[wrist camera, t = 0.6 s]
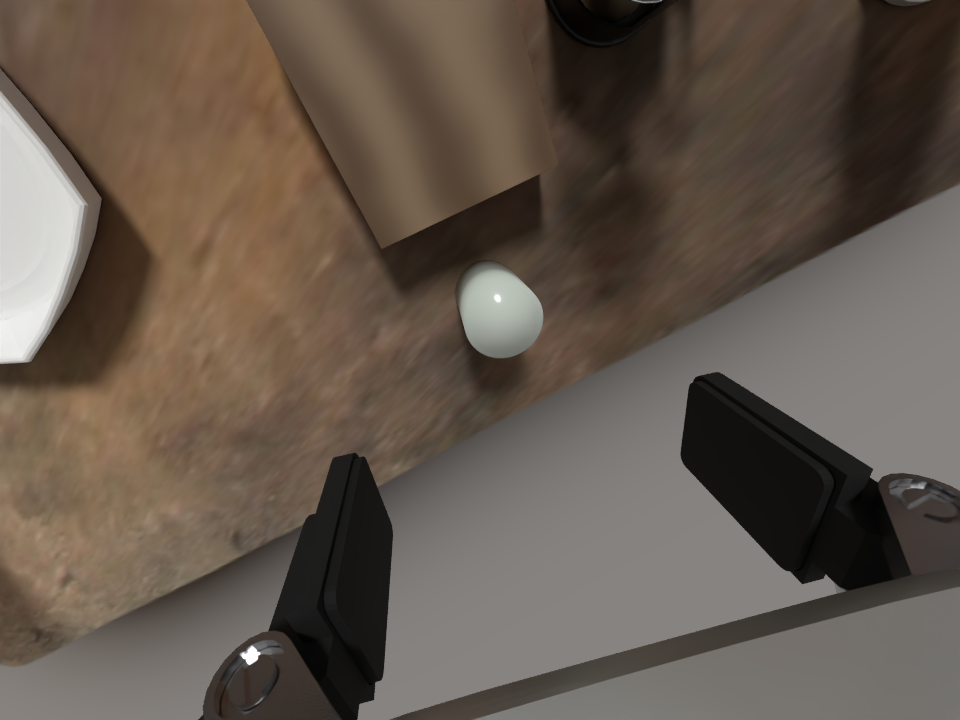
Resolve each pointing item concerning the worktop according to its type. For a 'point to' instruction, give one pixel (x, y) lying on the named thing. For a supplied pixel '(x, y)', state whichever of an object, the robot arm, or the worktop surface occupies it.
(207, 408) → the worktop surface
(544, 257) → the worktop surface
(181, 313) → the worktop surface
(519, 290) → the white rounded capsule
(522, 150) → the brown wooden block
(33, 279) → the pan
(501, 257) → the worktop surface
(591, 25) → the french press
